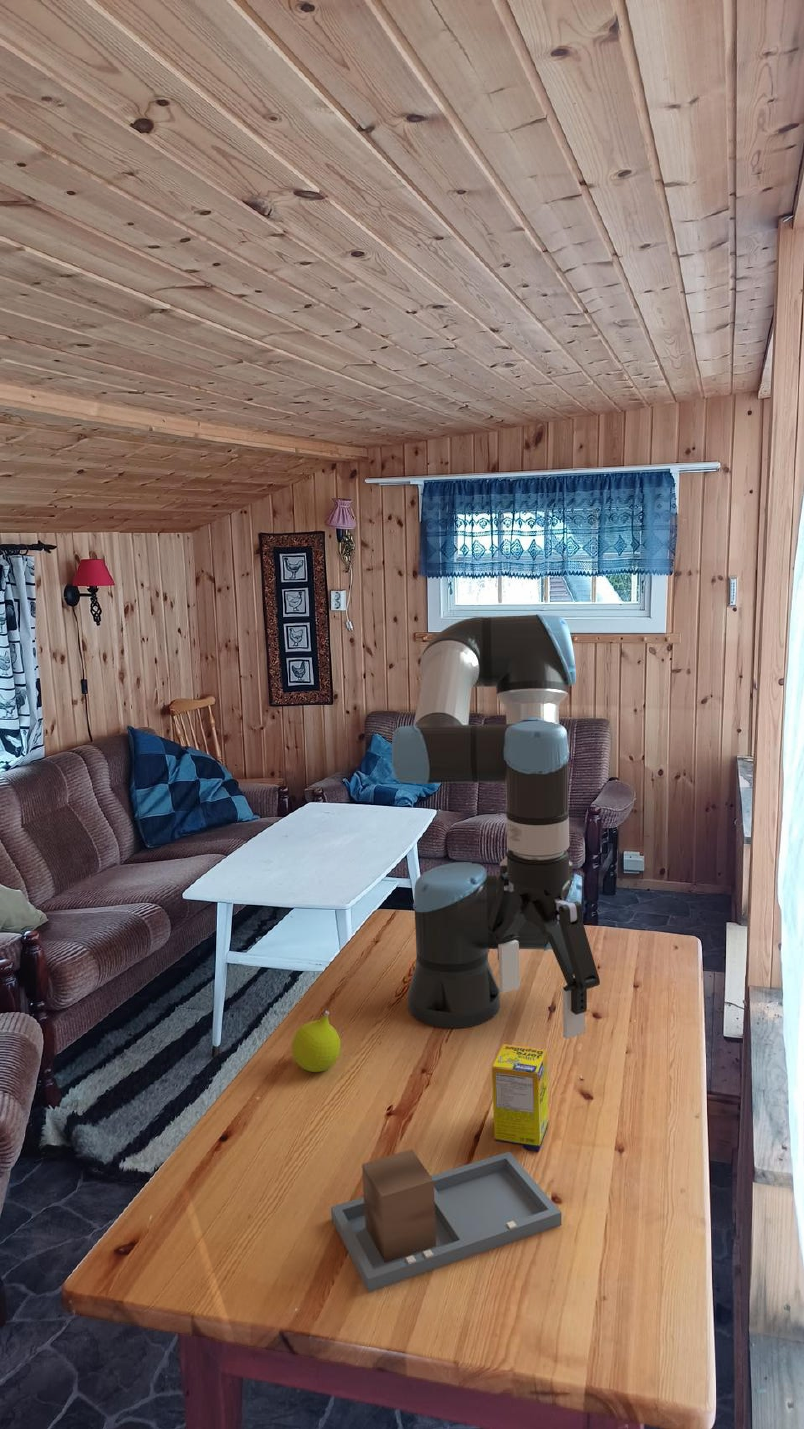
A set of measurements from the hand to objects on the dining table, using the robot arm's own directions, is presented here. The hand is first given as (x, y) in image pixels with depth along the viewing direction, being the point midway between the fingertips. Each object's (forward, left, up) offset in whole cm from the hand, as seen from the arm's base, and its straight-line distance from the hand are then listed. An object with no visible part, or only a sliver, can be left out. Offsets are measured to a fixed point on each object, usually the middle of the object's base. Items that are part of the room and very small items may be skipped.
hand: (540, 1011), depth 123 cm
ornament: (-28, -21, -18) cm, 40 cm away
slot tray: (+10, -18, -17) cm, 27 cm away
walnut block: (+10, -24, -17) cm, 31 cm away
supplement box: (-1, -2, -18) cm, 18 cm away
